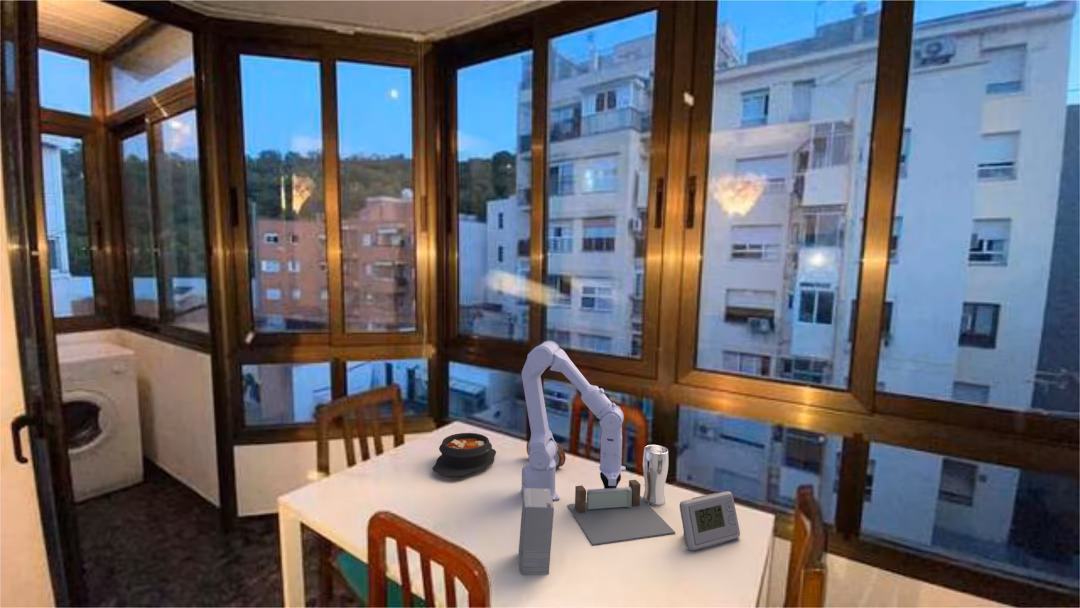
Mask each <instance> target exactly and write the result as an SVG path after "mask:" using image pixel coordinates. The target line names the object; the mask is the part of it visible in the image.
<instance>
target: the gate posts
mask: <svg viewBox="0 0 1080 608" xmlns="http://www.w3.org/2000/svg"><path fill="white" fill-rule="evenodd" d="M641 486H642V484H641V483H640V482H639V481H637V479H629V480H628V487H631V489H632V504H631V505H632V506H640V496H641ZM574 489H575V492H574V493H575V494H574V504H575V509H576V510H577V512H578V513H585V512H586V502H587V489H586V488H585V487H584V486H583V485H582V484H581V485H575V488H574Z"/></svg>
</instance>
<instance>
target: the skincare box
mask: <svg viewBox="0 0 1080 608" xmlns="http://www.w3.org/2000/svg"><path fill="white" fill-rule="evenodd" d="M552 499H553V497H552V496H551V491H550V489H537V488H524V489H523V494H522V502H521V503H522V504H521V517H520V529H519V530H520V532H519V541H518V566H519V573H520V574H521V575H545V574H546V575H549V574H550V562H551V553H552V552H551V551H552V538H553V536H552V535H553V527H554V525H553V523H554V513H555V512H554V511H555V508H554V507H555V506H554V503H553V501H554V500H552Z"/></svg>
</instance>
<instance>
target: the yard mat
mask: <svg viewBox="0 0 1080 608" xmlns="http://www.w3.org/2000/svg"><path fill="white" fill-rule="evenodd" d="M566 507H567V508H568V510H569V511H570V512H571V514H572V516H573V518H574V519H575V520H576V522H577V524H578V525H579V526H580V529H581V530H582V532H583V534H584V535H585V536H586V538H587V539H588V541H589V542H590V544H591V546H593V547H594V546H598V545H599V546H600V545H606V544H607V545H608V544H612V543H620V542H627V541H634V540H640V539H646V538H655V537H662V536H667V535H668V536H669V535H675V534H676V531H675V530H674V529H673V528H671V526H670V525H669V524H668V523H667V522H666V521H665V520H664V519H663V518H662V516H660V515H659V513H657V512H656V511H655V510H654V508H652V506H651V505H650V504H648V503H647V502H646V501H645V500H644V499H643V497H642V496H641V495H640V506H632V505H631V507H614V508H599V509H588V508H587V501H586V512H585V513H578V512H577V510H576V509H575V503H572V504H570V503H569V504H567V506H566Z"/></svg>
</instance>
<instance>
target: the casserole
mask: <svg viewBox="0 0 1080 608" xmlns="http://www.w3.org/2000/svg"><path fill="white" fill-rule="evenodd" d="M489 439H490V438H489V437H487V436H486V435H483V434H480V433H474V432H460V433H455V434H451V435H449V436H446V437H444V438H443V439H442V441H441V444H440V445H439V447H438V450H439V452H440V453H441V454H440V455H439V456H438V457H437V459H436V462H435V463H434V465H433V466H432V471H433V472H434V473H436V474H439V475H440V476H441V475H442V476H445V477H454V478H455V477H457V478H459V477H464V476H467V475H469V474H471V473H475V472H478V471H483V470H485V469H487V468H489V467H490V466H492V464H494V462H495V456H496V453H497V451H496V450H495V449H494V448H493V445H492V443H491V442H490V440H489Z"/></svg>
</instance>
